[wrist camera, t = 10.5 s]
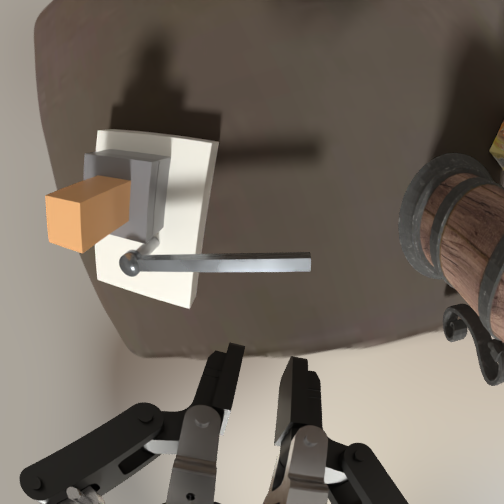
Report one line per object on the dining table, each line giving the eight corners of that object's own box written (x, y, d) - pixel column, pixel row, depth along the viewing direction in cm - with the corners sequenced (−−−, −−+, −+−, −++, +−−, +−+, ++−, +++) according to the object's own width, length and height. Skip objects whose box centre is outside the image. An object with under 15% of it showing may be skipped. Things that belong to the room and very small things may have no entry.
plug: (109, 148, 27) (30, 168, 16) (171, 156, 27) (101, 178, 16) (106, 214, 30) (38, 257, 19) (163, 228, 30) (104, 282, 19)
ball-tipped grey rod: (310, 245, 24) (310, 251, 23) (309, 270, 25) (310, 277, 24) (122, 249, 26) (116, 254, 25) (128, 270, 27) (122, 276, 26)
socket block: (112, 129, 29) (72, 133, 22) (219, 141, 28) (197, 146, 21) (108, 269, 37) (79, 296, 30) (196, 295, 37) (177, 331, 30)
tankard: (395, 153, 26) (523, 202, 8) (500, 154, 23) (614, 199, 5) (390, 326, 35) (430, 447, 17) (481, 306, 32) (540, 396, 14)
